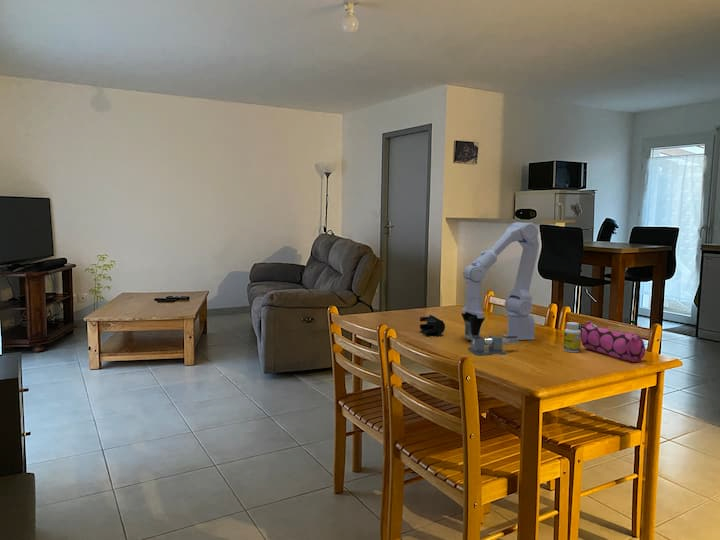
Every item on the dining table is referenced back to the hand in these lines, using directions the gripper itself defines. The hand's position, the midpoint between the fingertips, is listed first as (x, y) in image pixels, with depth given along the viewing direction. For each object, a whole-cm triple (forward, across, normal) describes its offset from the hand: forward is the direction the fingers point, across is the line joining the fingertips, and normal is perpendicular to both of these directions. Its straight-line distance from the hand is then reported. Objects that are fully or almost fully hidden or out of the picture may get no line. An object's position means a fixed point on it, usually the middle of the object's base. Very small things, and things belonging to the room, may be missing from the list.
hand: (472, 333), depth 202 cm
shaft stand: (+3, +16, +2) cm, 16 cm away
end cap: (+3, -14, -11) cm, 18 cm away
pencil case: (+3, +26, +39) cm, 47 cm away
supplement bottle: (+3, +19, +29) cm, 35 cm away
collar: (+2, 0, 0) cm, 2 cm away
